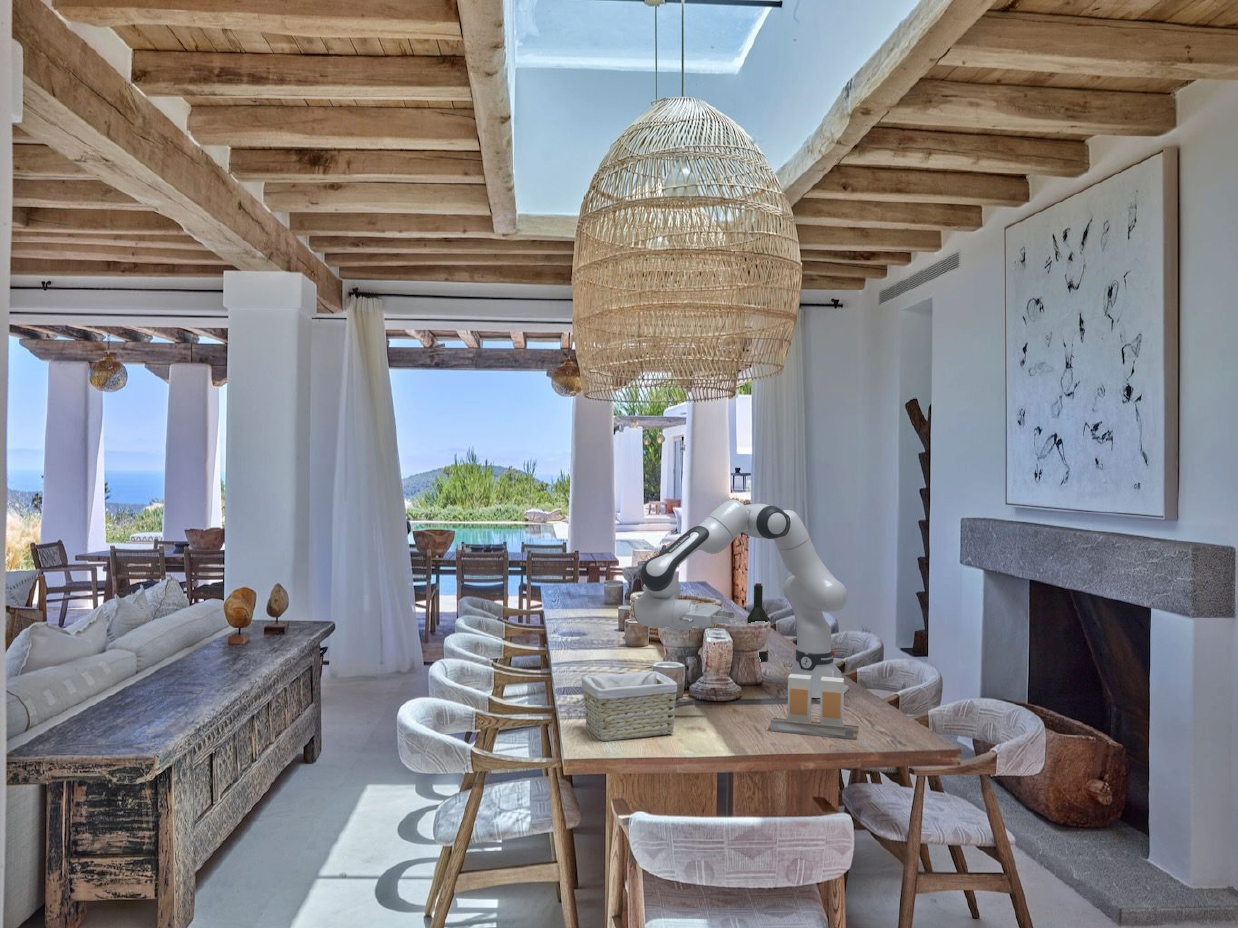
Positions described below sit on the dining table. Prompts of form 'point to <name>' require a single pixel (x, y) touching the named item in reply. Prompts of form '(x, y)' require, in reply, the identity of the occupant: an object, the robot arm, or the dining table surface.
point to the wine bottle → (759, 617)
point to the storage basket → (629, 705)
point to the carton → (832, 701)
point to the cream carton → (799, 698)
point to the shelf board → (814, 729)
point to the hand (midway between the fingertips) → (731, 617)
